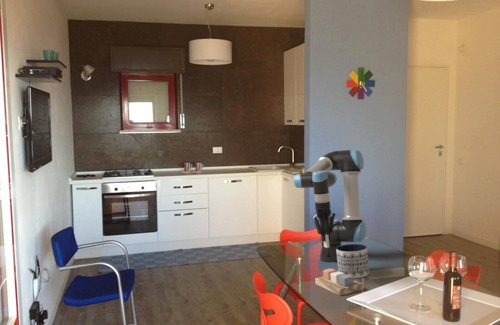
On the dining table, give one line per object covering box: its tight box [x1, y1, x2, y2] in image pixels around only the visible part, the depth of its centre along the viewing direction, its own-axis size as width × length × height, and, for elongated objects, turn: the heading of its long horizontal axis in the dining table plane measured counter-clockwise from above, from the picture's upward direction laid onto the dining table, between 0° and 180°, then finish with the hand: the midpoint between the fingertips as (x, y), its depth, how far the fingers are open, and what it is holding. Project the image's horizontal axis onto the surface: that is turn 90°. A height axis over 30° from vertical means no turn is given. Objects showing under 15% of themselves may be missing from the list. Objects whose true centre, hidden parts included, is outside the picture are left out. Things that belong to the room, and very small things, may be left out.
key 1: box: [322, 268, 338, 280], centre depth 238 cm, size 5×5×5 cm
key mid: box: [330, 270, 345, 284], centre depth 231 cm, size 5×5×5 cm
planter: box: [336, 243, 370, 280], centre depth 249 cm, size 16×16×14 cm
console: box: [314, 276, 364, 296], centre depth 231 cm, size 13×22×3 cm, turn 23°
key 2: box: [338, 275, 354, 287], centre depth 225 cm, size 5×5×5 cm
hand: (326, 247), depth 241 cm, fingers closed
